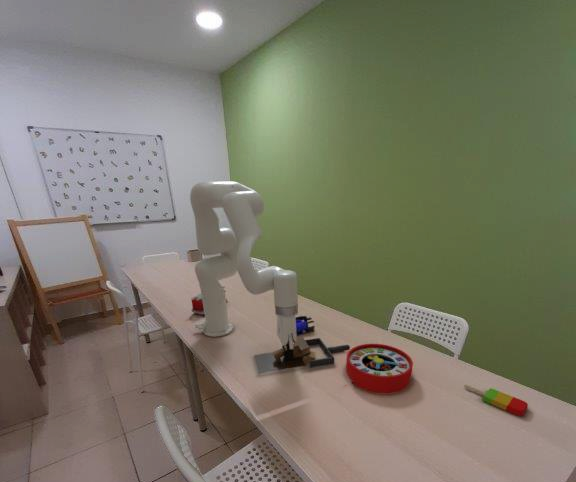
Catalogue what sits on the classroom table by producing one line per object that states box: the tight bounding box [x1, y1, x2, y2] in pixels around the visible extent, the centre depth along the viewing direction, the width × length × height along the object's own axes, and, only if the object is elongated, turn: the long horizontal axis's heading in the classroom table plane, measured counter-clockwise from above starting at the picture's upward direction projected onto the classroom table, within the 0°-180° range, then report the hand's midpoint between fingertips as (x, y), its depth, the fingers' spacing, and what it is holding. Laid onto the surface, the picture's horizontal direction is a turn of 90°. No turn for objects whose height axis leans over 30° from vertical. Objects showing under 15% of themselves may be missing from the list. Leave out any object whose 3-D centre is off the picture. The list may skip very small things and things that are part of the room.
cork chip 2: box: [302, 350, 316, 364], centre depth 104 cm, size 4×4×2 cm
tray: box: [254, 351, 307, 374], centre depth 105 cm, size 16×12×1 cm
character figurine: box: [295, 315, 316, 336], centre depth 123 cm, size 8×7×15 cm
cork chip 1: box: [293, 350, 303, 358], centre depth 107 cm, size 4×4×2 cm
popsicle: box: [463, 384, 529, 417], centre depth 84 cm, size 6×15×2 cm, turn 42°
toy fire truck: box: [190, 286, 229, 315], centre depth 151 cm, size 9×19×10 cm, turn 148°
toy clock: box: [345, 343, 414, 395], centre depth 96 cm, size 20×6×20 cm
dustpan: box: [304, 337, 351, 368], centre depth 108 cm, size 18×15×3 cm
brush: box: [272, 334, 311, 361], centre depth 104 cm, size 12×9×3 cm
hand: (288, 357), depth 105 cm, fingers closed on brush, 2 cm apart
